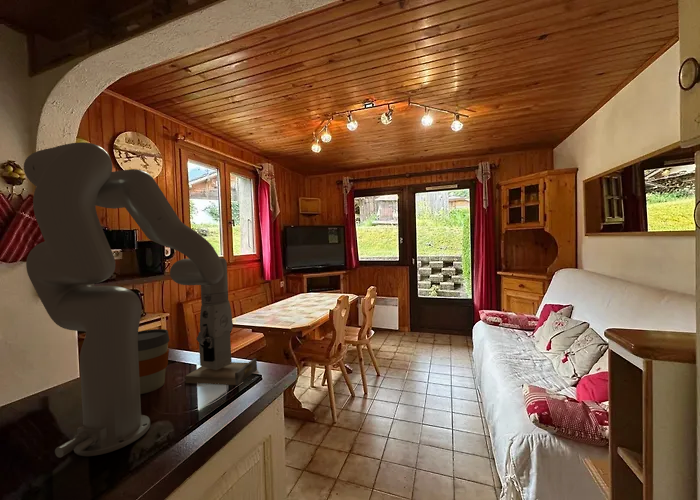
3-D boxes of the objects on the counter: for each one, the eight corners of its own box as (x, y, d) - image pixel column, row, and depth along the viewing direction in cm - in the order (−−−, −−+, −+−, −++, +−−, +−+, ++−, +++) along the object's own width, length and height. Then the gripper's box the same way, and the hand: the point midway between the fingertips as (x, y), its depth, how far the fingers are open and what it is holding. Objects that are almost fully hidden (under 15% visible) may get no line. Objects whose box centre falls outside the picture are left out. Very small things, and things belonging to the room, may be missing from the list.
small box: (232, 364, 92) (230, 330, 92) (215, 370, 88) (214, 335, 87) (216, 359, 97) (214, 327, 96) (199, 366, 92) (198, 331, 92)
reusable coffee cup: (129, 381, 90) (127, 331, 90) (176, 374, 94) (174, 327, 94) (109, 401, 78) (106, 344, 78) (163, 393, 82) (161, 338, 81)
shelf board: (238, 385, 85) (238, 373, 84) (185, 382, 88) (185, 370, 88) (257, 369, 95) (257, 358, 95) (209, 367, 98) (209, 357, 98)
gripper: (207, 303, 82) (210, 368, 82) (241, 293, 99) (243, 347, 99) (183, 303, 83) (186, 367, 84) (221, 293, 101) (223, 346, 101)
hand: (217, 355), depth 92 cm, fingers closed on small box, 7 cm apart
